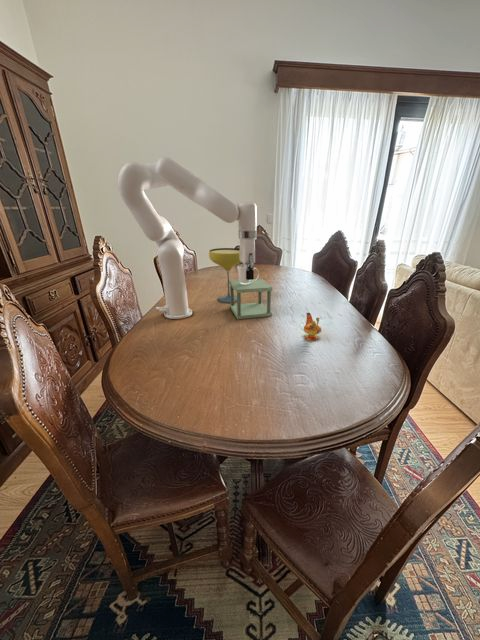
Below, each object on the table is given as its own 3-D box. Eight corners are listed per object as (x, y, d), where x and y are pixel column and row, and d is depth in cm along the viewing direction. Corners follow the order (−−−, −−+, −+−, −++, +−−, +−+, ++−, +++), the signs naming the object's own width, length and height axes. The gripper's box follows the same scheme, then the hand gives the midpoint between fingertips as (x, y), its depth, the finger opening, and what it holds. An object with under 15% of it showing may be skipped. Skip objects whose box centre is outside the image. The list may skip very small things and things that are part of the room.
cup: (236, 281, 132) (236, 264, 129) (257, 281, 134) (258, 264, 130) (237, 286, 126) (237, 267, 123) (260, 285, 128) (260, 267, 124)
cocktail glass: (252, 298, 156) (252, 250, 144) (232, 307, 142) (230, 255, 130) (226, 292, 164) (224, 246, 152) (204, 300, 150) (200, 251, 139)
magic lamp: (314, 327, 122) (317, 302, 117) (324, 346, 106) (328, 318, 101) (298, 327, 121) (300, 302, 116) (306, 346, 105) (309, 318, 100)
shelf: (237, 319, 128) (236, 289, 122) (230, 307, 142) (229, 280, 135) (271, 316, 132) (272, 287, 126) (261, 305, 146) (261, 278, 140)
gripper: (234, 233, 127) (235, 273, 135) (243, 237, 112) (244, 282, 121) (250, 232, 129) (250, 272, 137) (262, 237, 114) (261, 281, 123)
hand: (247, 277), depth 129 cm, fingers closed on cup, 6 cm apart
